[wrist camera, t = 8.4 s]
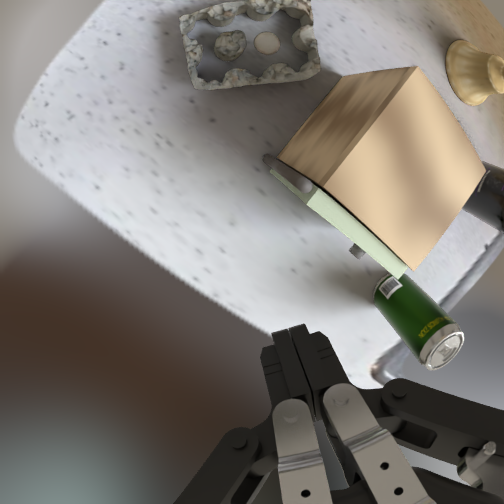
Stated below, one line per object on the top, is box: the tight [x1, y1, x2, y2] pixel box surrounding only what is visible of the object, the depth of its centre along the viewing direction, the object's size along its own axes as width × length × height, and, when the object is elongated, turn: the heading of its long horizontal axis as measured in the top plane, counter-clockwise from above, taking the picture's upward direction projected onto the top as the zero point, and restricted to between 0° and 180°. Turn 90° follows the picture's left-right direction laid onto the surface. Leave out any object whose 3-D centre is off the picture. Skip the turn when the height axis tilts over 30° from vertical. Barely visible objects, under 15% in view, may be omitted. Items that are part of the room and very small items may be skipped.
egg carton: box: [179, 0, 321, 90], centre depth 20 cm, size 11×8×4 cm
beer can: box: [373, 273, 464, 371], centre depth 30 cm, size 5×5×12 cm
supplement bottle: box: [462, 161, 504, 233], centre depth 25 cm, size 7×7×12 cm
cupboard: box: [263, 66, 486, 271], centre depth 22 cm, size 11×11×11 cm
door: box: [270, 169, 408, 279], centre depth 24 cm, size 2×10×10 cm, turn 53°
